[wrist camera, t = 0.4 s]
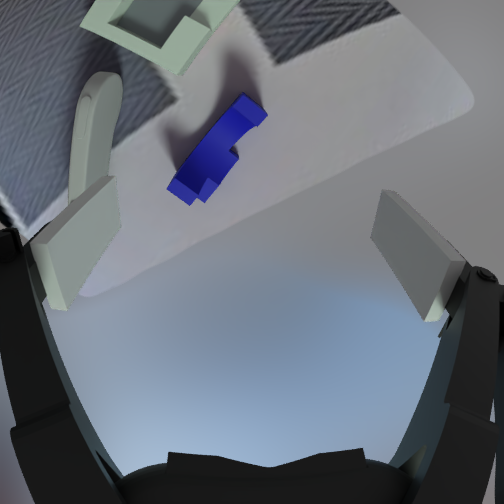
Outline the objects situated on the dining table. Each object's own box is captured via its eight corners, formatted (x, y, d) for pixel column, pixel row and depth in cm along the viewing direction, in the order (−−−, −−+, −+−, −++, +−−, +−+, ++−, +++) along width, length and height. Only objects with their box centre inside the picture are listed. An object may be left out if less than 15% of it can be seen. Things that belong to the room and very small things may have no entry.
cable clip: (206, 193, 38) (201, 214, 33) (176, 171, 36) (166, 189, 31) (273, 117, 33) (280, 125, 28) (242, 91, 31) (243, 94, 26)
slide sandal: (111, 70, 29) (78, 72, 22) (128, 72, 29) (99, 73, 22) (91, 218, 38) (65, 251, 31) (106, 222, 39) (82, 255, 32)
